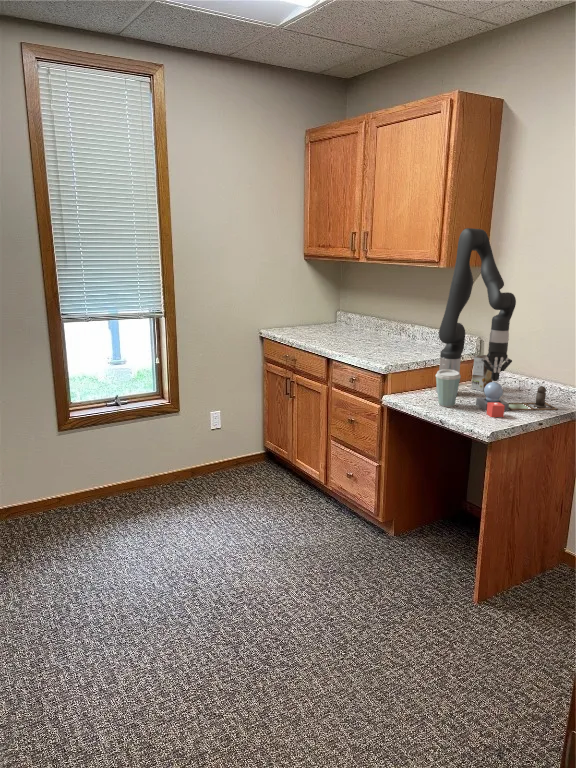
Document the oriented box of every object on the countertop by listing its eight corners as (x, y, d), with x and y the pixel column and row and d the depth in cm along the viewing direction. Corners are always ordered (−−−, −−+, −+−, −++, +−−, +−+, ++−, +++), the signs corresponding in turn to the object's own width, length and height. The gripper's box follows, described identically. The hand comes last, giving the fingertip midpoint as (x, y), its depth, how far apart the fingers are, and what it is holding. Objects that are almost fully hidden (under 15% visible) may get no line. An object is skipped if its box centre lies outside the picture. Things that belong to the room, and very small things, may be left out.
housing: (485, 410, 237) (486, 404, 237) (475, 404, 247) (476, 397, 246) (508, 410, 238) (509, 403, 237) (497, 404, 248) (498, 397, 247)
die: (491, 417, 228) (492, 405, 227) (486, 414, 233) (487, 402, 232) (503, 417, 228) (504, 405, 227) (498, 413, 233) (499, 401, 232)
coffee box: (482, 391, 269) (486, 358, 265) (470, 389, 273) (473, 356, 270) (492, 388, 275) (495, 356, 271) (480, 386, 280) (483, 354, 276)
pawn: (537, 408, 242) (539, 387, 239) (531, 405, 247) (533, 384, 244) (548, 408, 242) (550, 387, 240) (542, 405, 247) (544, 384, 245)
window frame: (510, 410, 238) (510, 409, 238) (500, 404, 248) (500, 402, 248) (557, 410, 240) (557, 408, 240) (545, 403, 250) (545, 402, 249)
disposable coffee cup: (459, 409, 239) (462, 375, 235) (433, 407, 241) (436, 373, 237) (457, 402, 249) (460, 369, 245) (432, 401, 251) (434, 368, 247)
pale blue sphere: (487, 404, 238) (489, 384, 236) (480, 399, 245) (482, 380, 243) (504, 404, 239) (507, 384, 237) (497, 399, 246) (499, 380, 244)
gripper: (509, 339, 240) (505, 378, 244) (479, 339, 239) (476, 378, 243) (518, 342, 232) (513, 382, 237) (487, 342, 231) (483, 383, 236)
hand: (494, 380), depth 240 cm, fingers closed
